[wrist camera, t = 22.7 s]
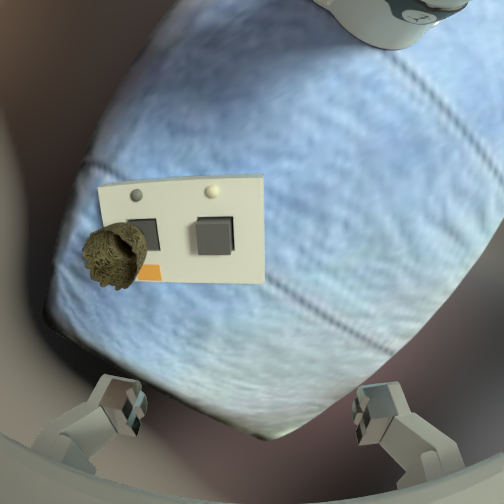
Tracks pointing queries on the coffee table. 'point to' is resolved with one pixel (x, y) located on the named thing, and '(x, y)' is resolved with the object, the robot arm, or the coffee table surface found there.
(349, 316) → the coffee table surface
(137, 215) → the panel
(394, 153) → the coffee table surface
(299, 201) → the coffee table surface
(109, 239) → the brown textured goblet
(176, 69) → the coffee table surface
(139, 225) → the block
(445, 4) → the robot arm
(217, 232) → the block
